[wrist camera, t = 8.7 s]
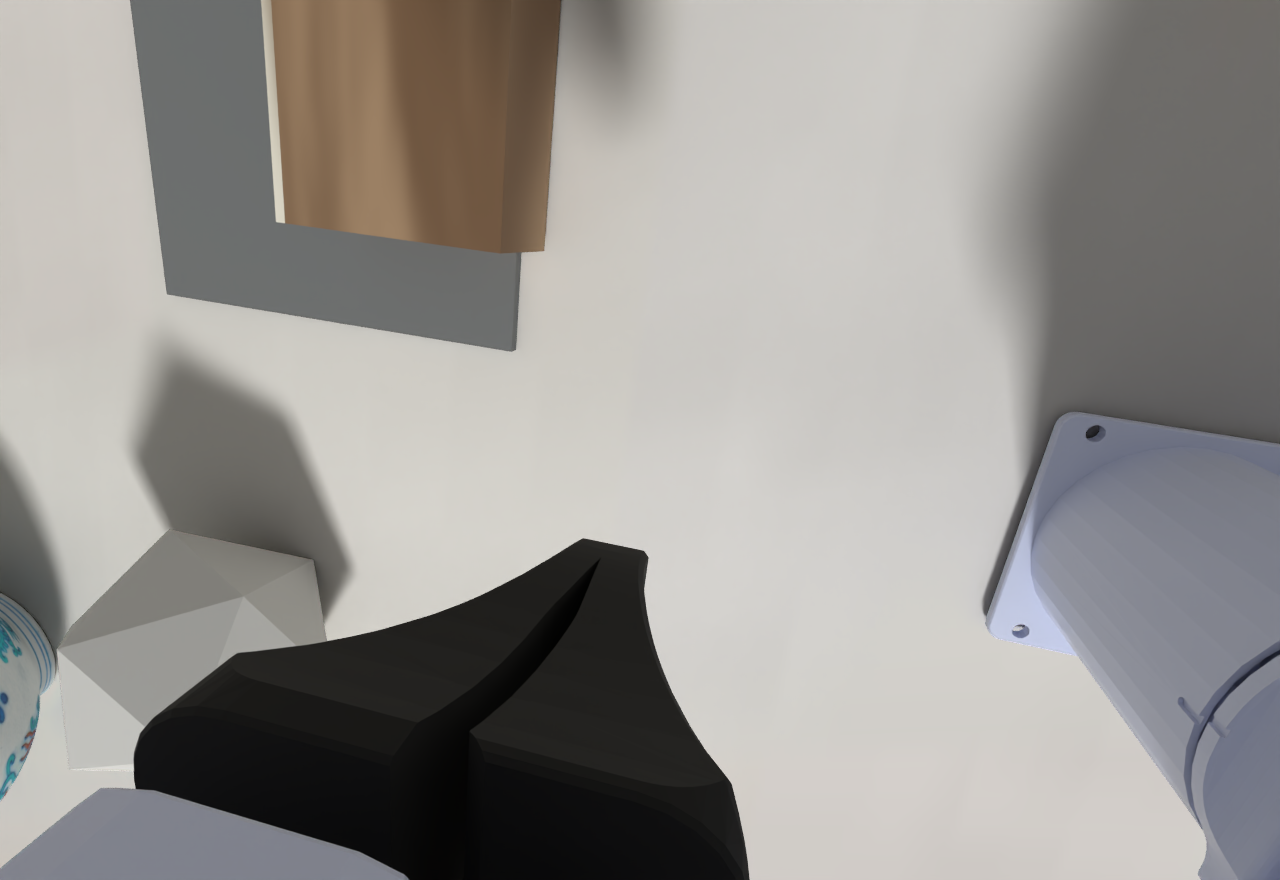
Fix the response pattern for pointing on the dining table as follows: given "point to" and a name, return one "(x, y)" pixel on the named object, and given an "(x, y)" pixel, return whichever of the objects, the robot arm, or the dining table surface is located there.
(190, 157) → the mat
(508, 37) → the two-tone wooden block
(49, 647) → the chinaware
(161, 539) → the die
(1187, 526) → the robot arm
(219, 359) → the dining table surface
